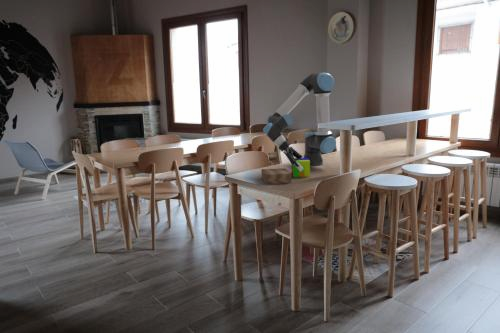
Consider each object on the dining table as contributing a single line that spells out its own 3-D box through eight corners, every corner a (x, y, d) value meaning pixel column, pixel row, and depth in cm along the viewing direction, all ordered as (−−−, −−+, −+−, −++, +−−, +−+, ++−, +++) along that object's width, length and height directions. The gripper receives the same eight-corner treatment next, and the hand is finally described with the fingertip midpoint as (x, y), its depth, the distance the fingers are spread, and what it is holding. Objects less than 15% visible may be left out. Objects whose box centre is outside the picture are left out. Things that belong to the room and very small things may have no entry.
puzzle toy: (307, 173, 259) (307, 158, 257) (309, 176, 249) (309, 161, 247) (292, 173, 259) (292, 158, 257) (293, 176, 249) (294, 161, 247)
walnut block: (284, 177, 249) (285, 168, 247) (291, 183, 234) (291, 173, 233) (261, 178, 246) (261, 169, 245) (266, 184, 232) (266, 174, 230)
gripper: (283, 144, 267) (304, 168, 265) (272, 150, 244) (295, 176, 242) (291, 137, 264) (312, 160, 262) (280, 142, 242) (304, 168, 239)
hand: (304, 168), depth 252 cm, fingers closed on puzzle toy, 12 cm apart
